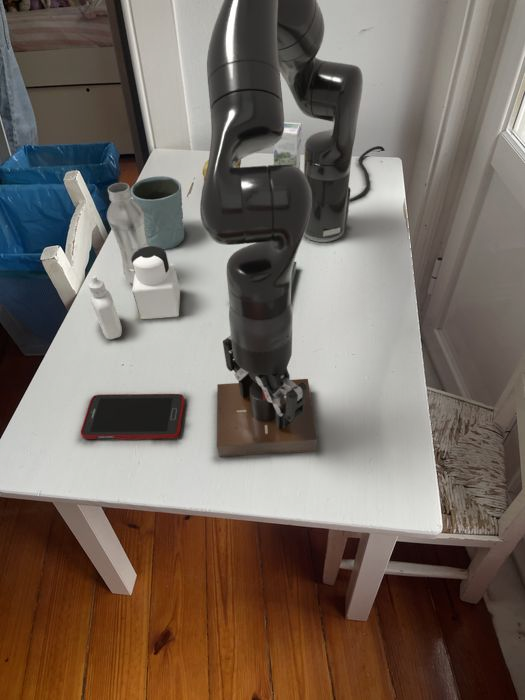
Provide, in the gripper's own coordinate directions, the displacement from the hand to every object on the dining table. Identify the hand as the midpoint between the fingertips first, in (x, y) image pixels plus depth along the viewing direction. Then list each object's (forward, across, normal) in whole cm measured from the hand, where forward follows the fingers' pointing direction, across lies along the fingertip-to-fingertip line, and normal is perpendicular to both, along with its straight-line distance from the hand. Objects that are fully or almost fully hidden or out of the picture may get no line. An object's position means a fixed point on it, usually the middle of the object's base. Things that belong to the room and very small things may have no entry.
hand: (264, 408), depth 70 cm
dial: (0, 0, 0) cm, 0 cm away
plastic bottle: (+4, +42, -6) cm, 43 cm away
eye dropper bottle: (+4, +34, +6) cm, 35 cm away
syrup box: (+4, +49, -52) cm, 72 cm away
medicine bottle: (+4, +33, -4) cm, 33 cm away
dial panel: (+3, 0, 0) cm, 3 cm away
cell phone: (+4, +14, +14) cm, 20 cm away
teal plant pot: (+4, +51, -17) cm, 54 cm away
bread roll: (+4, +60, -40) cm, 72 cm away
